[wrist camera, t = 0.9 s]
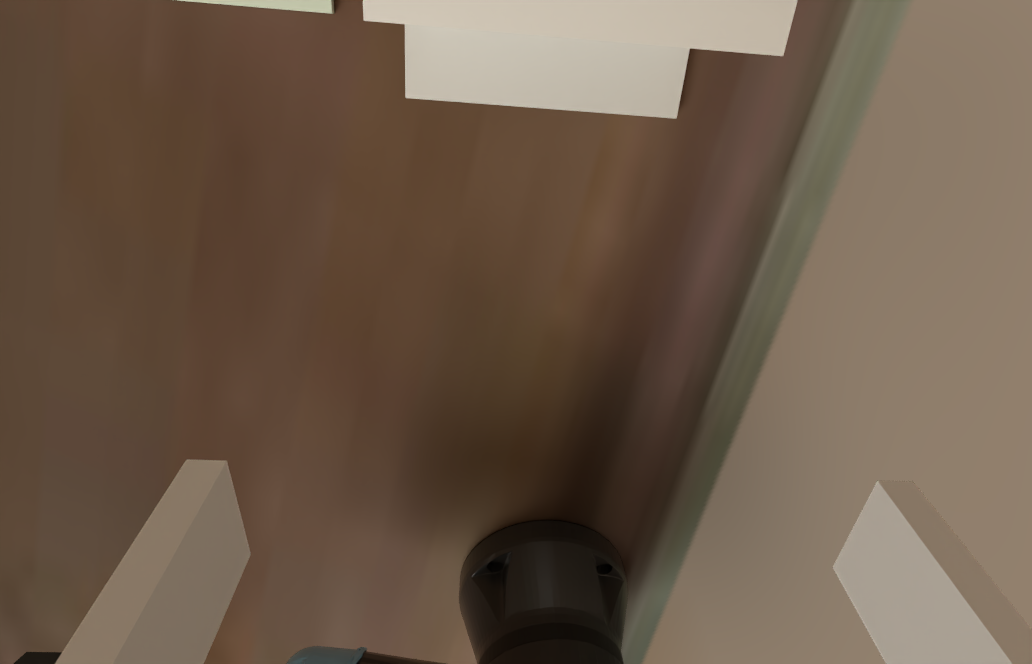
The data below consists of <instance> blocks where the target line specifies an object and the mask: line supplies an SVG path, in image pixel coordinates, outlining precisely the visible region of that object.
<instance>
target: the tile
mask: <svg viewBox="0 0 1032 664" xmlns="http://www.w3.org/2000/svg"><path fill="white" fill-rule="evenodd" d="M179 1H191V2H203V3H214V4H226V5H238V6H249V7H261V8H273V9H285V10H296V11H308V12H320V13H331V14H335V13H334V0H179Z"/></svg>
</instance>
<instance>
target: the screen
mask: <svg viewBox="0 0 1032 664" xmlns="http://www.w3.org/2000/svg"><path fill="white" fill-rule="evenodd" d="M797 1H798V0H363V15H364V21H374V22H386V23H398V24H405V96H406V98H414V99H427V100H440V101H453V102H466V103H479V104H492V105H505V106H519V107H532V108H545V109H558V110H571V111H584V112H597V113H610V114H623V115H636V116H650V117H663V118H677V113H678V108H679V103H680V98H681V92H682V87H683V82H684V77H685V71H686V66H687V61H688V56H689V50H690V48H692V49H704V50H716V51H728V52H740V53H751V54H763V55H775V56H783V55H784V51H785V47H786V43H787V39H788V35H789V32H790V28H791V24H792V20H793V16H794V12H795V8H796V4H797Z"/></svg>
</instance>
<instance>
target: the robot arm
mask: <svg viewBox="0 0 1032 664" xmlns="http://www.w3.org/2000/svg"><path fill="white" fill-rule="evenodd" d="M250 554H251V553H250V550H249V546H248V542H247V538H246V534H245V530H244V526H243V522H242V518H241V514H240V511H239V507H238V503H237V499H236V495H235V491H234V487H233V483H232V479H231V475H230V472H229V468H228V464H227V461H218V460H186V461H185V463H184V464H183V466H182V467H181V469H180V471H179V472H178V474H177V475H176V477H175V478H174V480H173V481H172V483H171V484H170V486H169V488H168V489H167V491H166V492H165V494H164V495H163V497H162V498H161V500H160V502H159V503H158V505H157V506H156V508H155V509H154V511H153V512H152V514H151V515H150V517H149V519H148V520H147V522H146V523H145V525H144V526H143V528H142V529H141V531H140V533H139V534H138V536H137V537H136V539H135V540H134V542H133V543H132V545H131V546H130V548H129V550H128V551H127V553H126V554H125V556H124V557H123V559H122V560H121V562H120V564H119V565H118V567H117V568H116V570H115V571H114V573H113V574H112V576H111V577H110V579H109V581H108V582H107V584H106V585H105V587H104V588H103V590H102V591H101V593H100V595H99V596H98V598H97V599H96V601H95V602H94V604H93V605H92V607H91V609H90V610H89V612H88V613H87V615H86V616H85V618H84V619H83V621H82V622H81V624H80V626H79V627H78V629H77V630H76V632H75V633H74V635H73V636H72V638H71V640H70V641H69V643H68V644H67V646H66V647H65V649H64V650H63V652H62V653H59V652H26V653H25V654H24V655H23V656H22V657H20V658H19V659H18V660H17V661H16V662H15V663H14V664H204V661H205V659H206V657H207V654H208V652H209V650H210V647H211V645H212V643H213V640H214V638H215V636H216V633H217V631H218V629H219V626H220V624H221V622H222V620H223V617H224V615H225V613H226V610H227V608H228V606H229V603H230V601H231V599H232V596H233V594H234V592H235V589H236V587H237V585H238V582H239V580H240V578H241V575H242V573H243V571H244V568H245V566H246V564H247V561H248V559H249V557H250ZM833 569H834V571H835V573H836V574H837V576H838V578H839V580H840V582H841V583H842V585H843V587H844V589H845V590H846V593H847V594H848V596H849V598H850V600H851V602H852V603H853V605H854V607H855V609H856V611H857V612H858V614H859V616H860V618H861V620H862V621H863V623H864V625H865V627H866V629H867V630H868V632H869V634H870V636H871V638H872V640H873V641H874V643H875V645H876V647H877V649H878V650H879V652H880V654H881V656H882V658H883V659H884V661H885V663H886V664H1032V628H1031V627H1030V626H1029V625H1028V624H1027V622H1026V621H1025V620H1024V619H1023V617H1022V616H1021V615H1020V614H1019V612H1018V611H1017V610H1016V609H1015V607H1014V606H1013V605H1012V604H1011V602H1010V601H1009V600H1008V599H1007V597H1006V596H1005V595H1004V594H1003V593H1002V591H1001V590H1000V589H999V587H998V586H997V585H996V584H995V582H994V581H993V580H992V579H991V577H990V576H989V575H988V574H987V573H986V571H985V570H984V569H983V568H982V566H981V565H980V564H979V563H978V561H977V560H976V559H975V558H974V557H973V555H972V554H971V553H970V551H969V550H968V549H967V548H966V546H965V545H964V544H963V543H962V542H961V540H960V539H959V538H958V536H957V535H956V534H955V533H954V532H953V530H952V529H951V528H950V527H949V525H948V524H947V523H946V522H945V520H944V519H943V518H942V517H941V516H940V514H939V513H938V512H937V510H936V509H935V508H934V507H933V505H932V504H931V503H930V502H929V500H928V499H927V498H926V497H925V496H924V494H923V493H922V492H921V490H919V488H918V487H917V486H916V484H915V483H914V482H911V481H909V482H908V481H877V482H876V484H875V486H874V488H873V490H872V492H871V494H870V496H869V498H868V500H867V502H866V504H865V506H864V508H863V509H862V511H861V513H860V515H859V517H858V519H857V521H856V523H855V525H854V527H853V529H852V531H851V533H850V535H849V537H848V539H847V540H846V543H845V544H844V546H843V548H842V550H841V552H840V554H839V556H838V558H837V560H836V562H835V564H834V566H833ZM627 601H628V585H627V580H626V576H625V571H624V567H623V563H622V560H621V558H620V556H619V554H618V552H617V550H616V549H615V548H614V546H613V545H612V544H611V543H610V542H609V541H608V540H607V539H605V538H604V537H603V536H601V535H600V534H598V533H596V532H594V531H593V530H590V529H588V528H586V527H583V526H580V525H577V524H573V523H568V522H562V521H533V522H526V523H521V524H517V525H514V526H511V527H508V528H505V529H503V530H500V531H498V532H496V533H494V534H493V535H491V536H489V537H488V538H486V539H485V540H483V541H482V542H481V543H480V544H479V545H477V546H476V547H475V548H474V549H473V551H472V552H471V553H470V554H469V556H468V557H467V559H466V561H465V562H464V565H463V567H462V570H461V575H460V590H459V603H460V610H461V614H462V617H463V620H464V623H465V626H466V629H467V632H468V636H469V639H470V642H471V645H472V648H473V651H474V654H475V657H476V660H477V664H624V663H623V658H622V652H621V649H622V641H623V633H624V625H625V617H626V609H627ZM366 650H367V648H364V647H360V648H358V649H357V650H355V649H344V648H333V647H322V646H312V647H307V648H305V649H302V650H300V651H299V652H297V653H296V654H294V655H293V656H292V657H291V658H290V659H289V661H288V662H287V663H286V664H446V663H438V662H431V661H424V660H417V659H410V658H403V657H397V656H391V655H385V654H379V653H372V652H366Z"/></svg>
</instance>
